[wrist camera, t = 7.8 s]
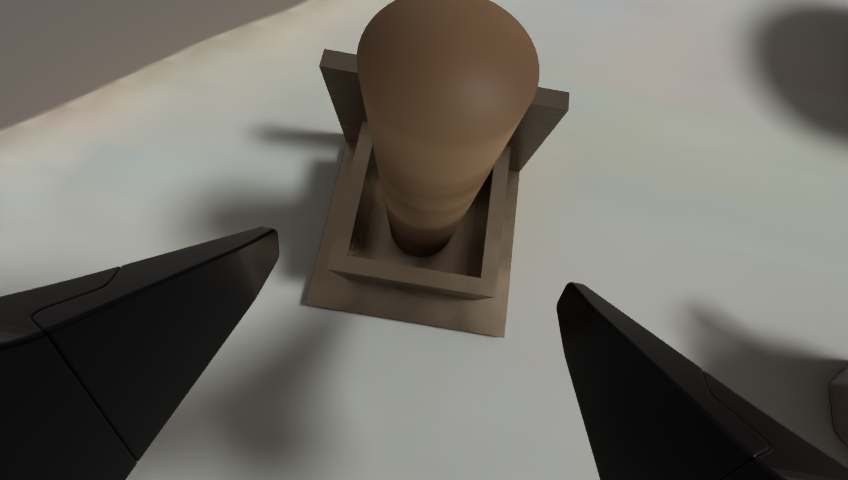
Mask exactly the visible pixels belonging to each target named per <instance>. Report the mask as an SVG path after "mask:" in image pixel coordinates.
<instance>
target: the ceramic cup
mask: <svg viewBox="0 0 848 480" xmlns="http://www.w3.org/2000/svg"><path fill="white" fill-rule="evenodd" d="M830 397H831V407H832V418H833V427H834V430H835V431H836V433H837V434H838V435H839V437H840V438H841V439H842V440H843V442H844V443H845V444H846V445H847V446H848V366H847V367H846V368H845V369H844V370H843V371H842V372H841V373H840V374H839V375H838V376H837V377H836V378H835V379H834V380H833V381H832V382H830Z"/></svg>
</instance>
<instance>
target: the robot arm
mask: <svg viewBox="0 0 848 480" xmlns="http://www.w3.org/2000/svg"><path fill="white" fill-rule="evenodd" d="M278 257H279V244H278V235H277V231H276V230H275V229H272V228H267V227H259V228H255V229H251V230H248V231H244V232H241V233H237V234H233V235H230V236H226V237H223V238H219V239H216V240H212V241H208V242H205V243H201V244H198V245H194V246H191V247H187V248H183V249H180V250H176V251H173V252H169V253H165V254H162V255H158V256H155V257H151V258H148V259H144V260H140V261H137V262H133V263H130V264H126V265H123V266H122V267H115V268H112V269H108V270H104V271H101V272H97V273H93V274H90V275H86V276H82V277H78V278H75V279H71V280H67V281H63V282H59V283H55V284H51V285H47V286H43V287H39V288H35V289H31V290H27V291H22V292H18V293H14V294H10V295H6V296H1V297H0V480H125V479H126V478H127V477H128V475H129V474H130V472H131V471H132V470H133V468H134V467H135V466H136V464H137V462H136V461H139V460H140V458H141V457H142V455H143V454H144V453H145V451H146V450H147V448H148V447H149V446H150V444H151V443H152V442H153V440H154V439H155V437H156V436H157V435H158V433H159V432H160V431H161V429H162V428H163V426H164V425H165V424H166V422H167V421H168V419H169V418H170V417H171V415H172V414H173V413H174V411H175V410H176V408H177V407H178V406H179V404H180V403H181V401H182V400H183V399H184V397H185V396H186V395H187V393H188V392H189V390H190V389H191V388H192V386H193V385H194V383H195V382H196V381H197V379H198V378H199V377H200V375H201V374H202V372H203V371H204V370H205V368H206V367H207V366H208V364H209V363H210V361H211V360H212V359H213V357H214V356H215V354H216V353H217V352H218V350H219V349H220V348H221V346H222V345H223V343H224V342H225V341H226V339H227V338H228V336H229V335H230V334H231V332H232V331H233V330H234V328H235V327H236V325H237V324H238V323H239V321H240V320H241V318H242V317H243V316H244V314H245V313H246V312H247V310H248V309H249V307H250V306H251V305H252V303H253V302H254V300H255V299H256V297H257V295H258V294H259V292H260V290H261V289H262V287H263V285H264V283H265V281H266V280H267V278H268V276H269V274H270V273H271V271H272V269H273V267H274V265H275V264H276V262H277V260H278ZM557 314H558V320H559V326H560V332H561V338H562V344H563V349H564V354H565V358H566V362H567V365H568V369H569V372H570V376H571V379H572V383H573V386H574V390H575V393H576V397H577V400H578V404H579V407H580V411H581V414H582V418H583V421H584V425H585V428H586V432H587V435H588V438H589V442H590V445H591V449H592V452H593V456H594V459H595V463H596V466H597V470H598V473H599V477H600V480H848V467H846V466H845V465H843V464H842V463H840V462H838V461H837V460H835V459H834V458H832V457H831V456H829V455H828V454H826V453H825V452H823V451H822V450H820V449H819V448H817V447H816V446H814V445H813V444H811V443H810V442H808V441H807V440H805V439H804V438H802V437H801V436H799V435H798V434H796V433H795V432H793V431H791V430H790V429H788V428H787V427H785V426H784V425H782V424H781V423H779V422H778V421H776V420H775V419H773V418H772V417H770V416H769V415H767V414H766V413H764V412H763V411H761V410H760V409H758V408H757V407H756V406H754V405H753V404H751V403H750V402H748V401H747V400H745V399H744V398H742V397H741V396H739V395H738V394H737V393H735V392H734V391H732V390H731V389H729V388H728V387H727V386H725V385H724V384H722V383H721V382H719V381H718V380H717V379H715V378H714V377H712V376H711V375H710V374H708V373H707V372H705V371H702V369H701V368H700V367H698V366H697V365H696V364H694V363H693V362H691V361H690V360H689V359H687V358H686V357H684V356H683V355H682V354H680V353H679V352H677V351H676V350H675V349H673V348H672V347H670V346H669V345H668V344H666V343H665V342H663V341H662V340H661V339H659V338H658V337H656V336H655V335H654V334H652V333H651V332H649V331H648V330H647V329H645V328H644V327H642V326H641V325H640V324H638V323H637V322H635V321H634V320H633V319H631V318H630V317H628V316H627V315H626V314H624V313H623V312H621V311H620V310H619V309H617V308H616V307H614V306H613V305H612V304H610V303H609V302H607V301H606V300H605V299H603V298H602V297H600V296H599V295H598V294H596V293H595V292H593V291H592V290H591V289H589V288H588V287H586V286H585V285H583V284H579V283H573V282H570V283H568V284H567V285H566V287H565V289H564V291H563V293H562V294H561V296H560V298H559V300H558V303H557Z"/></svg>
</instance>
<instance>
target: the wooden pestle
mask: <svg viewBox="0 0 848 480" xmlns="http://www.w3.org/2000/svg"><path fill="white" fill-rule="evenodd" d="M357 71H358V77H359V82H360V86H361V91H362V96H363V101H364V106H365V110H366V115H367V120H368V125H369V130H370V135H371V139H372V144H373V149H374V154H375V159H376V164H377V168H378V173H379V178H380V183H381V188H382V193H383V197H384V202H385V207H386V212H387V217H388V221H389V226H390V231H391V235H392V238H393V240H394V242H395V244H396V245H397V246H398V247H399V248H400V249H401V250H402V251H404V252H405V253H407V254H409V255H412V256H415V257H428V256H432V255H434V254H437V253H438V252H440V251H441V250H442V249H443V248H444V247H445V246H446V245H447V244H448V242H449V240H450V239H451V237H452V235H453V234H454V232H455V230H456V229H457V227H458V225H459V224H460V222H461V220H462V219H463V217H464V215H465V213H466V212H467V210H468V208H469V207H470V205H471V203H472V202H473V200H474V198H475V197H476V195H477V193H478V192H479V190H480V188H481V187H482V185H483V183H484V182H485V180H486V178H487V176H488V175H489V173H490V171H491V170H492V168H493V166H494V165H495V163H496V161H497V160H498V158H499V156H500V155H501V153H502V151H503V150H504V148H505V146H506V144H507V143H508V141H509V139H510V138H511V136H512V134H513V133H514V131H515V129H516V128H517V126H518V124H519V123H520V121H521V119H522V118H523V116H524V114H525V112H526V111H527V109H528V107H529V106H530V104H531V102H532V100H533V98H534V96H535V93H536V90H537V87H538V81H539V62H538V56H537V53H536V50H535V47H534V45H533V43H532V40H531V38H530V37H529V35H528V34H527V32H526V30H525V29H524V28H523V27H522V25H521V24H520V23H519V22H518V21H517V20H516V19H515V18H514V17H513V16H512V15H511V14H510V13H508V12H507V11H506V10H504V9H503V8H502V7H500V6H498V5H497V4H495V3H493V2H491V1H489V0H395V1H393V2H392V3H390V4H388V5H387V6H386V7H384V8H383V9H382V10H380V11H379V12H378V13H377V14H376V15H375V16H374V17H373V18H372V20H371V21H370V22H369V24H368V25H367V26H366V28H365V30H364V32H363V34H362V36H361V39H360V42H359V45H358V50H357Z"/></svg>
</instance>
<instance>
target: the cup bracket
mask: <svg viewBox="0 0 848 480" xmlns="http://www.w3.org/2000/svg"><path fill="white" fill-rule="evenodd" d="M319 67H320V69H321V72H322V75H323V78H324V80H325V83H326V86H327V89H328V92H329V94H330V97H331V100H332V103H333V105H334V108H335V111H336V114H337V116H338V119H339V122H340V125H341V128H342V130H343V133H344V136H345V139H346V141H347V142H346V146H345V150H344V153H343V157H342V161H341V165H340V169H339V173H338V177H337V181H336V185H335V189H334V193H333V197H332V201H331V205H330V209H329V213H328V217H327V221H326V225H325V228H324V232H323V236H322V240H321V244H320V248H319V252H318V256H317V260H316V264H315V268H314V272H313V276H312V280H311V284H310V288H309V292H308V296H307V299H306V303H305V305H311V306H317V307H323V308H329V309H335V310H341V311H347V312H353V313H359V314H365V315H371V316H377V317H383V318H389V319H395V320H401V321H407V322H413V323H419V324H425V325H431V326H437V327H443V328H449V329H455V330H461V331H467V332H473V333H479V334H485V335H491V336H497V337H503V338H504V334H505V323H506V312H507V301H508V291H509V280H510V269H511V258H512V247H513V236H514V225H515V215H516V204H517V193H518V182H519V172H520V170H521V169H522V168H523V167H524V165H525V164H526V163H527V161H528V160H529V159H530V158H531V156H532V155H533V154H534V153H535V151H536V150H537V149H538V148H539V146H540V145H541V144H542V143H543V141H544V140H545V139H546V138H547V136H548V135H549V134H550V133H551V131H552V130H553V129H554V128H555V126H556V125H557V124H558V123H559V121H560V120H561V119H562V118H563V116H564V115H565V114H566V112H567V111H568V107H569V92H563V91H557V90H552V89H546V88H541V87H537V90H536V93H535V96H534V98H533V100H532V102H531V104H530V106H529V107H528V109H527V111H526V112H525V114H524V116H523V118H522V119H521V121H520V123H519V124H518V126H517V128H516V129H515V131H514V133H513V134H512V136H511V138H510V139H509V141H508V143H507V144H506V146H505V148H504V150H503V151H502V153H501V155H500V156H499V158H498V160H497V161H496V163H495V165H494V166H493V168H492V170H491V171H490V173H489V175H488V176H487V178H486V180H485V182H484V183H483V185H482V187H481V188H480V190H479V192H478V193H477V195H476V197H475V198H474V200H473V202H472V203H471V205H470V207H469V208H468V210H467V212H466V213H465V215H464V217H463V219H462V220H461V222H460V224H459V225H458V227H457V229H456V230H455V232H454V234H453V235H452V237H451V239H450V240H449V242H448V244H447V245H446V246H445V247H444V248H443V249H442V250H441V251H440V252H438V253H437V254H434V255H432V256H428V257H415V256H412V255H409V254H407V253H405V252H404V251H402V250H401V249H400V248H399V247H398V246H397V245H396V244H395V242H394V240H393V238H392V235H391V231H390V226H389V221H388V217H387V212H386V207H385V202H384V197H383V193H382V188H381V183H380V178H379V173H378V168H377V164H376V159H375V154H374V149H373V144H372V139H371V135H370V130H369V125H368V120H367V115H366V110H365V106H364V101H363V96H362V91H361V86H360V82H359V77H358V71H357V55H355V54H349V53H344V52H338V51H333V50H327V49H324V52H323V55H322V59H321V62H320V65H319Z"/></svg>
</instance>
